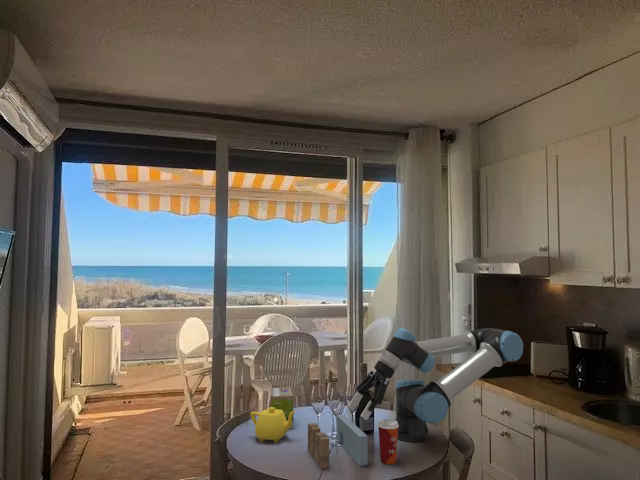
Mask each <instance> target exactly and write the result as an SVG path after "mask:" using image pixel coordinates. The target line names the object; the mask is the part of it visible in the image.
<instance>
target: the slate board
mask: <svg viewBox="0 0 640 480" xmlns="http://www.w3.org/2000/svg"><path fill="white" fill-rule="evenodd" d="M337 440H338V441H337ZM336 441H337V442H338V444H339V443H343V445H342V449H344V451H346V453H347V454H348V455H349V456H350V457H351V458H352V459H353V460H354V461H355V462H356V463H357V465H358V466H359V467H360V466H361V467H362V466H368V456H369V455H368V448H369V447H368V443H369V442H368V435H367V434H366V433H365V432H364V431H363V430H362V429H360V427H358V425H356V424H355V423H354V422H353V421H351V420H350V419H349V418H348V417H347V416H346V415H345V414H339V415H336Z"/></svg>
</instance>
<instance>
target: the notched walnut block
mask: <svg viewBox="0 0 640 480" xmlns="http://www.w3.org/2000/svg"><path fill="white" fill-rule="evenodd" d="M307 451H308V453H309V455H311V457H312V458H313V460H314V461H315V462H316V464H317V466H318V467H319V469H320V470H326V469H330V438H329V436H327V434H326V433H325V432H324V431H323V432H321V428H320V426H319V425H318V424H317V422H311V423H307Z"/></svg>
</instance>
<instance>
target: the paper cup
mask: <svg viewBox="0 0 640 480" xmlns="http://www.w3.org/2000/svg"><path fill="white" fill-rule="evenodd" d="M377 426H378V440H379V443H378V444H379V455H380V456H379V457H380V462H381V463H382V464H384V465H395V464H396V462H397V455H398V454H397V453H398V439H397V438H398V427H399V425H398V422H397V421H395V419H391V418H382V419H380V420H378V423H377Z"/></svg>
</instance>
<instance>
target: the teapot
mask: <svg viewBox="0 0 640 480" xmlns="http://www.w3.org/2000/svg"><path fill="white" fill-rule="evenodd" d="M295 413H297V410H293V412H291V413H290V414H289V418H288V421H287V420H286V417H285V414H284V412H283V411H282V410H279V409H275V408H274V407H271V406H270V407H268V408H266V409H264V410H262V411H260V412H259V411H251V412H250V415H249V416H250V418H251V419H250V420H251V421H252V422H253V424H254V426H255V427H254V428H255V429H254V433H255V435H256V437H257V438H258V442H263V443H264V442H265V441H266V440H268V441H269V440H270V441H272V443H275V444H277V443H280V439H282V438H284V437H285V436H286V434H287V433H288V430H290V429H289V428H290V427H291V424H292V417H293V418H294V414H295ZM256 415H257V416H258V418H257V420H256Z"/></svg>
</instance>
